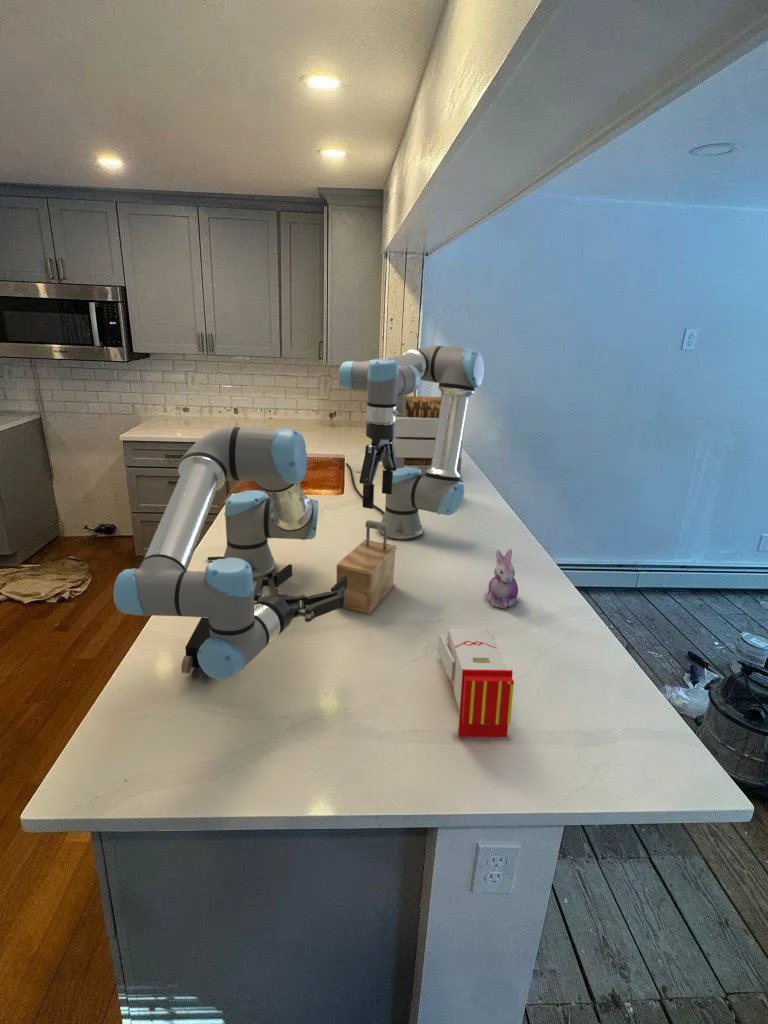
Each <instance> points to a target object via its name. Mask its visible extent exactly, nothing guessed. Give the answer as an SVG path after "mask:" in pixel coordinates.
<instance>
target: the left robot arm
mask: <svg viewBox="0 0 768 1024" xmlns="http://www.w3.org/2000/svg"><path fill="white" fill-rule="evenodd" d="M306 448H307V445H306V442H305V439H304V436H303V434H302V433H301V432H300V431H299V430H296V429H289V428H285V427H280V428H269V427H268V428H267V427H266V428H265V427H247V426H246V427H244V426H243V427H242V426H225V427H220V428H218V429H215V430H212V431H210V432H209V433H207V434H205V435H203V436H202V437H201V438H199V439H198V440H197V441H195V443H194V444H193V445H192V446H191V447H189V449H187V451H186V452H185V454H184V455H183V456H182V458H181V460H180V463H179V465H178V468H177V475H178V477H179V478H178V480H177V482H176V484H175V487H174V489H173V492H172V493H171V497H170V499H169V500H168V503H167V506H166V508H165V510H164V512H163V514H162V517H161V519H160V521H159V523H158V526H157V528H156V530H155V533H154V535H153V537H152V540H151V542H150V545H149V546H148V549H147V551H146V553H145V556H144V558H143V560H142V562H141V564H140V566H139V568H136V567H133V568H126V569H123V570H122V571H121V572H119V574H118V575H117V577H116V579H115V582H114V585H113V587H114V588H113V602H114V605H115V607H116V609H117V610H118V612H120V613H122V614H124V615H125V614H126V615H134V616H141V617H147V616H152V617H153V616H155V617H156V616H159V617H185V618H186V617H189V618H201V617H204V618H208V620H209V630H210V637H209V638H208V639H206V640H205V642H204V643H203V644H202V645H201V646H200V648H199V651H198V654H197V657H198V662H199V665H200V667H201V668H202V669H201V670H202V671H203V673H204V672H205V673H204V674H205V675H206V674H207V675H208V677H210V678H212V679H215V680H217V681H227V680H230V679H231V678H233V677H234V676H236V675H237V674H238V673H240V672H241V671H243V670H244V669H246V666H247V665H249V663H251V661H252V660H254V659H255V658H256V657H257V656H258V655H259V654H260V653H261V652H262V651H263V650H264V649H265V648H266V647H268V646H269V644H271V643H272V642H273V641H274V640H275V639H276V638H277V637H278V636H280V635H281V634H282V633H283V632H284V631H285V630H286V629H287V628H288V627H289V626H290V625H291V623H292V621H293V620H294V619H295V618H298V617H302V618H304V621H305V622H306V623H311V622H312V621H313V620H314V619H315V618H318V617H320V616H323V615H325V614H328V613H330V612H334V611H336V610H338V609H340V608H343V607H344V598H345V595H344V593H345V590H346V589H347V577H346V576H344V577H343V578H342V579H341V580H340V581H338V582H337V581H336V583H335V584H334V585H333V586H332V587H331V588H330V591H325V592H321V593H315V594H311V595H305V594H300V595H290V594H287V593H280V592H279V587H280V586H281V585H282V584H283V583H285V582H286V581H288V580H289V579H290V578H292V576H293V564H292V563H289V564H288V565H286V566H284V567H283V568H282V569H280V570H279V571H276V572H274V570H275V568H276V567H275V559H274V557H273V554H272V551H271V548H270V546H269V543H268V540H269V539H281V540H283V539H285V540H301V541H306V540H313V539H314V538H315V537H316V536H317V527H318V526H317V525H318V516H319V501H318V500H317V499H313V498H309V497H308V496H307V495H306V494H304V493H303V490H302V486H301V482H303V480H304V479H305V478H306V475H307V469H308V468H307V467H308V454H307V452H308V451H307V450H306ZM228 481H238V482H254V484H255V485H256V486H257V487H258V488H259V490H257V489H255V490H253V489H252V490H251V489H250V490H245V491H240V492H237V493H234V494H232V495H230V496H229V497H227V498H226V500H225V502H224V517H225V519H224V520H225V535H226V536H225V537H226V548H225V551H224V555H223V556H208V557H207V560H208V561H211V562H209V563H208V564H207V565H206V567H205V571H198V570H197V571H196V570H192V571H191V570H188V569H189V566H190V563H191V561H192V558H193V556H194V552H195V551H196V548H197V545H198V542H199V539H200V536H201V534H202V530H203V528H204V526H205V523H206V520H207V517H208V514H209V512H210V509H211V506H212V504H213V501H214V498H215V495H216V493H217V492H218V491H219V490H221V489H222V488H223V486H224V485H225V483H226V482H228ZM260 489H261V490H260ZM273 572H274V573H273ZM254 579H255V580H256V583H254ZM254 585H255V586H254ZM265 587H266V588H267V592H268V594H266V595H263V593H264V588H265ZM300 601H301V603H300Z"/></svg>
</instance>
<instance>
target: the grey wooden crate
mask: <svg viewBox="0 0 768 1024" xmlns="http://www.w3.org/2000/svg"><path fill="white" fill-rule="evenodd" d="M440 393H441V394H440V396H415V395H414V396H413V395H412V396H411V395H401V396H397V401H396V411H397V412H398V413H397V415H396V418H395V422H393V423H394V424H395V437H394V441H393V444H394V451H395V458H396V469H397V468H405V466H406V467H409V466H411V467H417V466H418V467H431V463H432V457H433V450H434V444H435V438H436V431H437V425H438V418H439V412H440V406H441V399H442V392H441V391H440ZM464 429H465V427H464V428H463V434H462V440H461V446H460V452H459V459H458V465H457V472H458V474H459V475H460V476H461V472H462V461H463V460H462V453H463V442H464V441H463V438H464V431H465V430H464ZM392 462H393V461H392Z"/></svg>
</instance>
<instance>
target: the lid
mask: <svg viewBox="0 0 768 1024" xmlns="http://www.w3.org/2000/svg"><path fill="white" fill-rule="evenodd" d="M365 528H366V535H365V536H366V539H364V540H363V541H362V542H361V543H360V544H358V545H356V547H355V548H354V549H353V550H351V551H350V552H349V553H348V554H347V555H346V556H344V558H342V559H341V560H340V561H339V562H338V563H336V569H337V568H341V569H345V570H350V571H354V572H359V573H364V574H368V575H371V574H372V573H373V572H374V571H375V570H376V569H377V568H378V567H379V566H380V565H381V564H382V563H383V562H384V561H385V560H386V559H387V558H388V557H389V556H390V555H391V554H392V553H393V552H394V551H395V552H396V550H397V545H394V544H390V543H387V539H388V538H387V530H388V528H389V524H387V523H382V521H377V520H376V521H375V520H370V519H367V520H366V521H365ZM371 529H373V530H378V531H379V530H383V531H384V536H383V542H379V541H373V540H370V537H371Z"/></svg>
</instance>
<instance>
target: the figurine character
mask: <svg viewBox="0 0 768 1024" xmlns="http://www.w3.org/2000/svg"><path fill="white" fill-rule="evenodd" d="M209 637H210V630H209V620H208V618H207V617H200V619H199V621H198V623H197V625H196V626H195V628H194V630H193V632H192V634H191V636H190V638H189V639H188V642H187V643H186V645H185V647H184V648H185V655H184V656H183V658H182V662H181V666H180V667H181V668H180V670H181V673H182V674H190V673H191V678H195V677H196V675H197V672H198V670H202V668H201V667H200V665H199V662H198V657H197V654H198V651H199V648H200V646H201V645H202V644H203V643H204V642H205V640H206V639H208V638H209ZM192 668H193V670H192ZM191 670H192V672H191ZM203 673H204V674H205V675H204V677H205V679H207V678H208V677H209V676H208V675H207V674H206V673H205V672H204V671H203Z"/></svg>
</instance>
